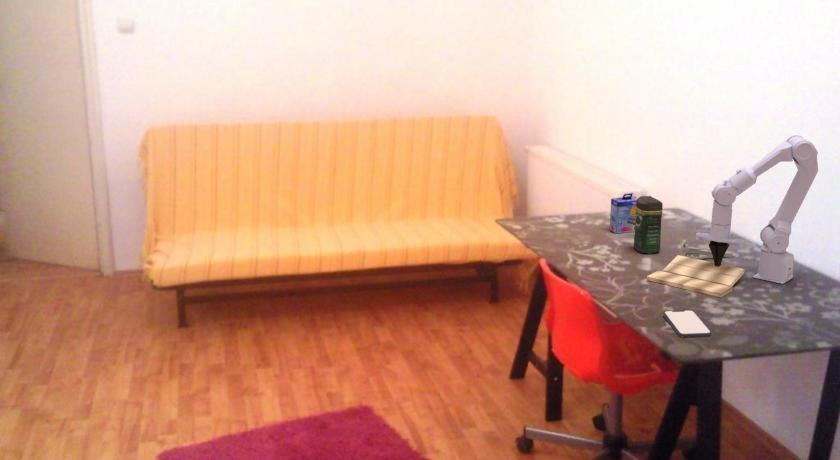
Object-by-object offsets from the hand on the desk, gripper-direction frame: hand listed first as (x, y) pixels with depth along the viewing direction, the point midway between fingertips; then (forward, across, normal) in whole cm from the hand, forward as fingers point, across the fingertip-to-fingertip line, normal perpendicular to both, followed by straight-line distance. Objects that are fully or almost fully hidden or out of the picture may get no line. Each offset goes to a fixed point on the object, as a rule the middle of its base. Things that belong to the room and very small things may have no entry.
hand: (717, 265), depth 276 cm
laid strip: (+4, +4, +13) cm, 14 cm away
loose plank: (+2, +3, +3) cm, 5 cm away
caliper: (+4, +8, -16) cm, 18 cm away
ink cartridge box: (+4, +45, -31) cm, 55 cm away
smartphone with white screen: (+4, -7, +44) cm, 45 cm away
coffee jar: (+4, +29, -14) cm, 32 cm away
